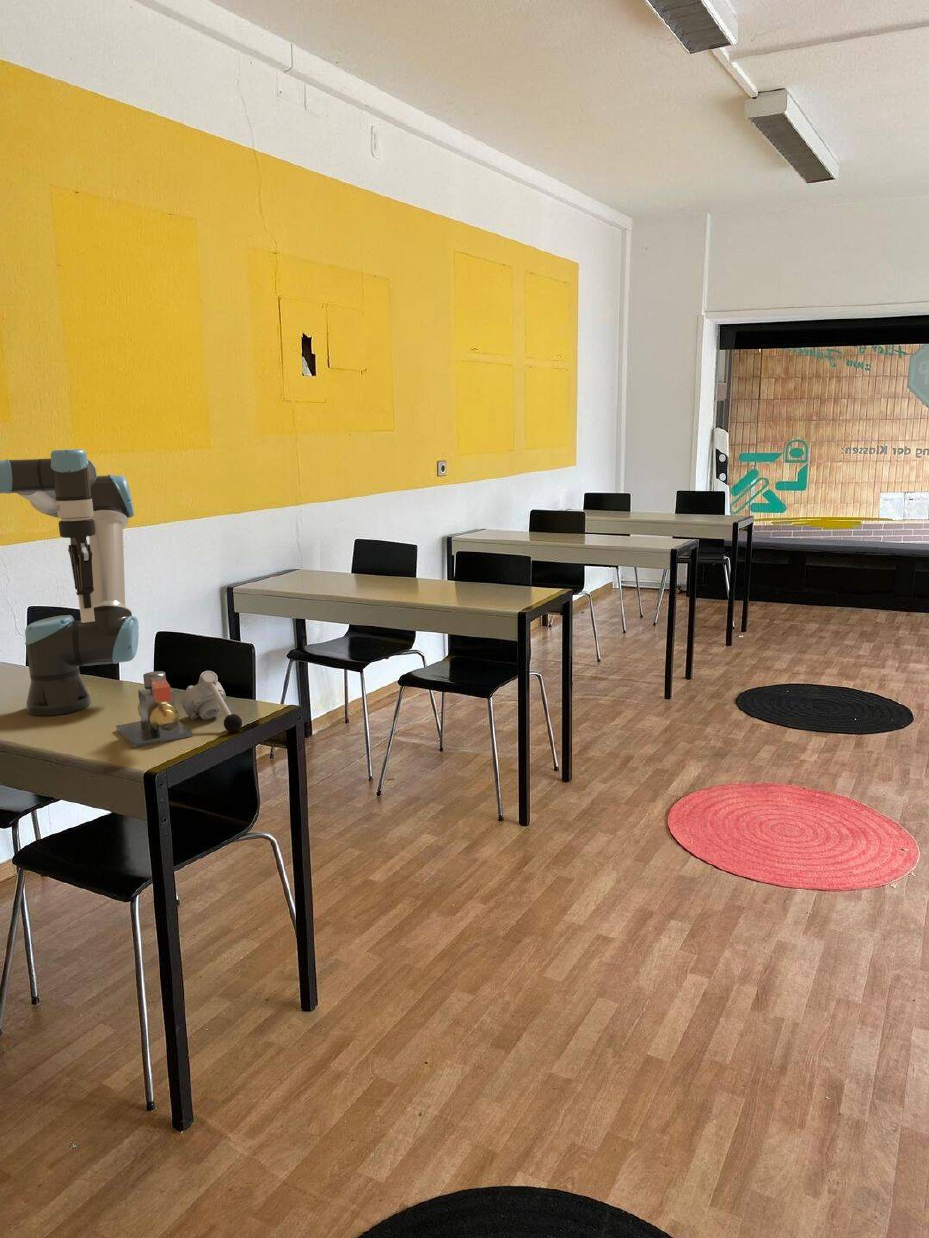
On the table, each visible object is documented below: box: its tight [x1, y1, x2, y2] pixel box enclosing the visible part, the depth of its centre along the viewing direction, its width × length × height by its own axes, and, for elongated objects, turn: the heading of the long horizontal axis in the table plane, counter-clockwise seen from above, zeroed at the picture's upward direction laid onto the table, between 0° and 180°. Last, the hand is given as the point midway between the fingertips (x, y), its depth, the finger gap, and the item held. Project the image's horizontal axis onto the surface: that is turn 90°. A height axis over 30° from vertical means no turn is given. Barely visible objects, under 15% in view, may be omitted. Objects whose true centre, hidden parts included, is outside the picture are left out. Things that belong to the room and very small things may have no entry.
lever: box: [142, 670, 172, 703], centre depth 211 cm, size 5×16×3 cm, turn 25°
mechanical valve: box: [180, 670, 243, 733], centre depth 223 cm, size 10×18×15 cm
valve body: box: [115, 688, 193, 749], centre depth 216 cm, size 16×13×11 cm
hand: (88, 621), depth 215 cm, fingers closed
